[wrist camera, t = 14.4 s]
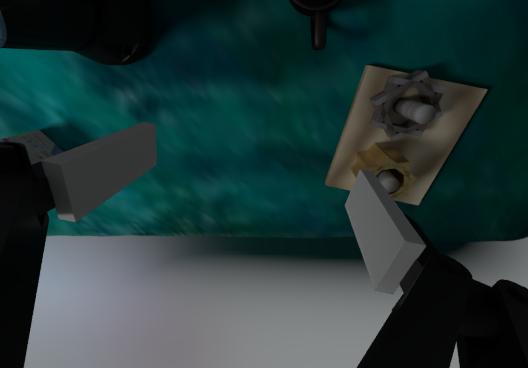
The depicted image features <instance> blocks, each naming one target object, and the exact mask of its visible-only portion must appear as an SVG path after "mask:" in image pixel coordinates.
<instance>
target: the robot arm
mask: <svg viewBox="0 0 528 368" xmlns="http://www.w3.org/2000/svg"><path fill="white" fill-rule="evenodd" d="M151 36H152V12H151V7H150V3H149V0H0V48H13V49H36V50H60V51H74V52H76V53H78V54H80V55H82V56H85V57H87V58H89V59H91V60H93V61H96V62H98V63H101V64H105V65H128V64H131V63H133V62H135V61H137V60H138V59H139V58H140V57H141V56H142V55H143V54H144V53H145V51H146V50H147V48H148V46H149V43H150V40H151ZM156 164H157V155H156V133H155V125H154V124H150V123H145V122H142V123H140V124H137V125H134V126H132V127H129V128H126V129H124V130H121V131H118V132H116V133H113V134H110V135H108V136H105V137H102V138H100V139H97V140H95V141H92V142H89V143H87V144H84V145H81V146H79V147H76V148H73V149H71V150H68V151H65V152H63V153H60V154H57V155H55V156H52V157H49V158H47V159H44V160H41V161H40V162H37V163H35V164H32V165H31V162H30V159H29V156H28V153H27V150H26V147H25V145H24V144H22V143H17V142H0V368H24V363H25V357H26V350H27V344H28V339H29V334H30V328H31V322H32V316H33V310H34V304H35V298H36V293H37V287H38V282H39V276H40V270H41V264H42V258H43V252H44V247H45V241H46V235H47V229H48V224H49V217H48V214H47V212H48V211H49V210H51V209H53V208H54V207H55V208H56V211H57V214H58V218H59V219H63V220H68V221H72V222H77V221H78V220H80V219H81V218H82V217H84V216H85V215H87V214H88V213H89V212H91V211H92V210H94V209H95V208H96V207H98V206H99V205H101V204H102V203H103V202H105V201H106V200H108V199H109V198H110V197H112V196H113V195H115V194H116V193H117V192H119V191H120V190H122V189H123V188H124V187H126V186H127V185H128V184H130V183H131V182H133V181H134V180H135V179H137V178H138V177H140V176H141V175H142V174H144V173H145V172H147V171H148V170H149V169H151V168H152V167H154V166H155V165H156ZM345 207H346V210H347V213H348V216H349V218H350V221H351V224H352V227H353V230H354V233H355V235H356V238H357V241H358V244H359V247H360V249H361V252H362V255H363V258H364V261H365V264H366V267H367V269H368V272H369V275H370V278H371V281H372V284H373V287H374V289H375V290H376V291H380V292H385V293H389V294H393V293H394V292H395V290H396V289H397V288H398V286H399V285H400V286H401V288H402V290H403V292H404V294H403V295H402V296H401V298H400V299H399V301H398V302H397V303H396V305H395V306H394V308H393V309H392V312H391V314H390V315H389V317H388V319H387V320H386V322H385V323H384V325H383V327H382V328H381V330H380V331H379V333H378V335H377V336H376V338H375V339H374V341H373V342H372V344H371V346H370V347H369V349H368V350H367V352H366V354H365V355H364V357H363V358H362V360H361V362H360V363H359V365H358V366H357V368H449V367H450V363H451V360H452V356H453V352H454V348H455V344H456V341H457V349H458V357H459V364H460V368H528V289H527V288H525V287H523V286H520V285H518V284H517V283H514V282H511V281H509V280H503V279H502V280H499V281H497V282H496V283H495V284H494V285H493V286H492V287H490V286H488V285H485V284H483V283H481V282H478V281H476V280H473V279H472V275H471V273H470V272H469V270H468V269H466V268H465V267H464V266H463V265H462V264H461V263H459V262H458V261H456V260H455V259H453V258H451V257H449V256H446V255H443V254H440V253H439V252H438V251H437V249H436V248H435V247H434V245H433V244H432V243H431V241H430V240H429V239H428V237H426V235H425V234H424V232H423V231H421V228H420V227H419V226H418V224H417V223H416V222H415V221H414V220H412V219H411V218H410V217H409V216H407V215H404V214H403V213H402V212H401V210H400V209H399V207H398V206H397V205H396V203H395V202H394V200H393V199H392V198H391V196H390V195H389V194H388V192H387V191H386V189H385V188H384V187H383V185H382V184H381V182H380V181H379V180H378V178H377V177H376V176H375V174H374V173H373V171H368V170H364V169H360V171H359V173H358V175H357V178H356V180H355V183H354V185H353V187H352V190H351V192H350V194H349V197H348V199H347V202H346V204H345Z"/></svg>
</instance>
